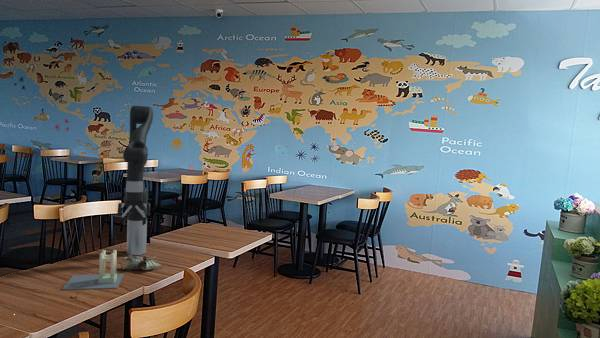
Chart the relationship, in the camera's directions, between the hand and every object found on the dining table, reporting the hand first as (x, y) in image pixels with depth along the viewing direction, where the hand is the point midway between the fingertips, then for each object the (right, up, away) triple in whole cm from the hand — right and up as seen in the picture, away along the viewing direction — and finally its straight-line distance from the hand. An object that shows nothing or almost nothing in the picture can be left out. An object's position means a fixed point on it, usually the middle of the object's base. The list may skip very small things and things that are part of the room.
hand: (133, 225), depth 208 cm
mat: (-6, -20, -27) cm, 34 cm away
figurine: (+7, -19, -7) cm, 22 cm away
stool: (-1, -20, -26) cm, 32 cm away
